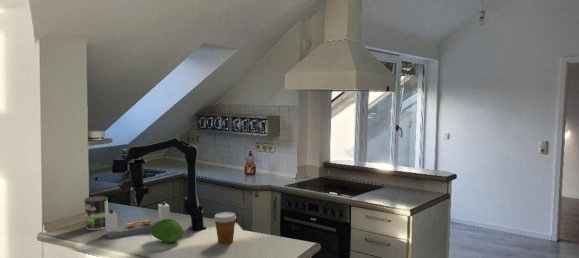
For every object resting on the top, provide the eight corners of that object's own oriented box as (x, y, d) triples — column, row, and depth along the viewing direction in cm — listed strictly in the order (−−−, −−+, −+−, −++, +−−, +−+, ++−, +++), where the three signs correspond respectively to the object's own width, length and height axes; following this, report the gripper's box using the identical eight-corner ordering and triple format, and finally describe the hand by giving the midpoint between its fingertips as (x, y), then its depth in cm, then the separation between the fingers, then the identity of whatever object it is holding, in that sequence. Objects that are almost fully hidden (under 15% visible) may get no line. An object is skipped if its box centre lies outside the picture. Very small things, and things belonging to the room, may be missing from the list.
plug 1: (118, 230, 208) (116, 210, 207) (108, 232, 206) (107, 211, 205) (115, 228, 212) (114, 207, 211) (106, 229, 210) (105, 209, 209)
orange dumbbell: (150, 223, 217) (150, 220, 217) (128, 227, 211) (128, 223, 211) (148, 222, 219) (148, 219, 219) (127, 226, 214) (126, 223, 214)
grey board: (171, 227, 220) (171, 222, 219) (109, 238, 205) (109, 233, 204) (166, 223, 226) (165, 218, 226) (105, 234, 211) (105, 228, 211)
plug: (170, 221, 221) (169, 202, 220) (161, 223, 219) (161, 203, 218) (166, 219, 225) (166, 200, 224) (158, 220, 223) (157, 201, 222)
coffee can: (97, 231, 216) (96, 201, 214) (81, 228, 220) (79, 199, 218) (113, 225, 225) (112, 196, 224) (97, 222, 229) (96, 195, 228)
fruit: (145, 242, 199) (144, 220, 198) (161, 235, 208) (160, 214, 207) (172, 247, 193) (172, 224, 192) (188, 240, 201) (187, 218, 200)
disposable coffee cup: (227, 247, 192) (226, 219, 191) (209, 243, 198) (209, 215, 196) (241, 240, 201) (240, 213, 199) (224, 236, 206) (223, 210, 204)
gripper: (113, 171, 216) (115, 204, 218) (123, 178, 201) (125, 213, 202) (138, 169, 222) (139, 200, 224) (149, 175, 207) (150, 209, 208)
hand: (138, 206), depth 214 cm, fingers closed
